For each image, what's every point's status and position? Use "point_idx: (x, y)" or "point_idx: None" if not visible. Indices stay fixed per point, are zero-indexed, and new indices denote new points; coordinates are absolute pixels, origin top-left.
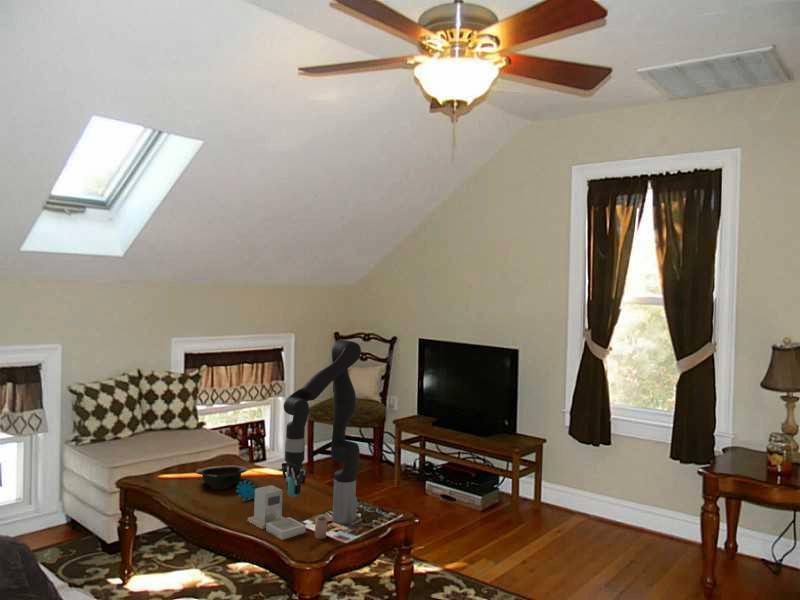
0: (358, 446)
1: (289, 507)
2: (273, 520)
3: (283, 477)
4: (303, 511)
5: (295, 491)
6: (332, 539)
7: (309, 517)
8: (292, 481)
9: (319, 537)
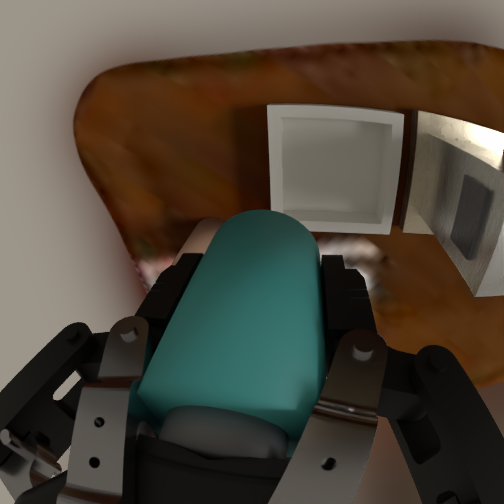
0: None
1: (467, 300)
2: (427, 178)
3: (445, 355)
4: (419, 312)
5: (173, 268)
6: (175, 250)
7: (374, 301)
8: (165, 345)
9: (197, 225)
